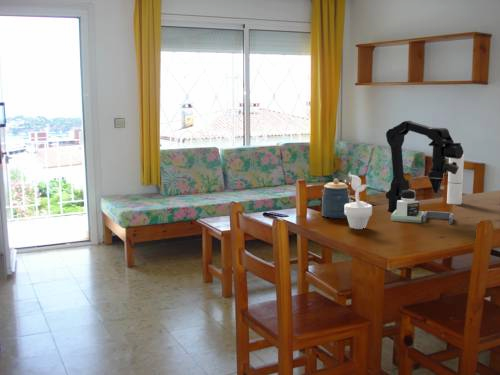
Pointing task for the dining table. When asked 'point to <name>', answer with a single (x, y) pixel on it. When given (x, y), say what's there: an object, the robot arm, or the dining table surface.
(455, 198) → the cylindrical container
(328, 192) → the canister
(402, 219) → the tray
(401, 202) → the medicine bottle
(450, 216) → the dock
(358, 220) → the potted plant
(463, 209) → the dining table surface
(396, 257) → the dining table surface
